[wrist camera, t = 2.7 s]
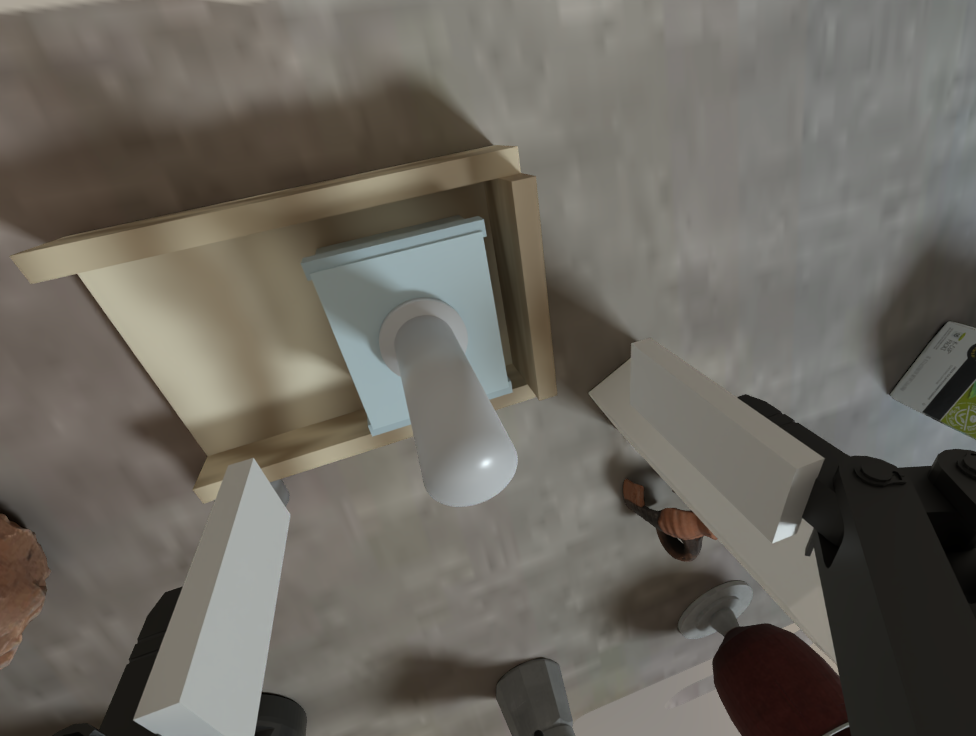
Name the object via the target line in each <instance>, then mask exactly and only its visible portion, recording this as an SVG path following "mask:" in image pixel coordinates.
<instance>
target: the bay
mask: <svg viewBox="0 0 976 736" xmlns="http://www.w3.org/2000/svg"><path fill="white" fill-rule="evenodd" d="M456 215H460V216H461V217H462V218H464V219H467V218H471V217H475V216H479V217H481V218H483V219H484V223H485V229H486V235H487V237H483V239H484V245H485V250H486V256H487V262H488V268H489V274H490V280H491V285H492V291H493V297H494V303H495V309H496V315H497V320H498V326H499V332H500V338H501V344H502V349H503V355H504V361H505V367H506V373H507V376H508V378H509V379H510V381H511V385H512V391H513V392H512V393H509V394H506V395H503V396H500V397H496V398H493V399H490V402H491V404H492V406H493V408H494V410H498V409H501V408H504V407H507V406H510V405H513V404H516V403H520V402H523V401H526V400H529V399H532V398H535V397H537V398H538V400H539V401H541V400H544V399H547V398H550V397H553V396H556V395H557V387H556V377H555V366H554V356H553V346H552V336H551V326H550V315H549V305H548V295H547V285H546V275H545V265H544V254H543V244H542V234H541V224H540V214H539V203H538V193H537V183H536V176H532V175H528V174H523V173H521V170H520V162H519V153H518V146H501V145H492V146H487V147H483V148H478V149H473V150H469V151H464V152H459V153H454V154H450V155H445V156H440V157H436V158H431V159H426V160H422V161H417V162H412V163H407V164H403V165H398V166H393V167H389V168H384V169H379V170H375V171H370V172H365V173H361V174H356V175H351V176H346V177H342V178H337V179H332V180H328V181H323V182H318V183H314V184H309V185H304V186H300V187H295V188H290V189H285V190H281V191H276V192H271V193H267V194H262V195H257V196H253V197H248V198H243V199H239V200H234V201H229V202H224V203H220V204H215V205H210V206H206V207H201V208H196V209H192V210H187V211H182V212H177V213H173V214H168V215H163V216H159V217H154V218H149V219H145V220H140V221H135V222H131V223H126V224H121V225H116V226H112V227H107V228H102V229H98V230H93V231H88V232H84V233H79V234H74V235H70V236H65V237H62V238H60V239H57V240H54V241H51V242H48V243H45V244H42V245H40V246H37V247H34V248H31V249H28V250H25V251H22V252H19V253H17V254H14V255H11V256H9V257H10V258H11V259H12V260H13V262H14V263H15V264H16V265H17V267H18V268H19V269H20V271H21V272H22V273H23V274H24V276H25V277H26V278H27V280H28V281H29V282H30V283H31V284H34V283H38V282H43V281H47V280H51V279H56V278H60V277H65V276H69V275H74V274H78V276H79V277H80V278H81V280H82V281H83V283H84V284H85V285H86V287H87V288H88V290H89V291H90V292H91V294H92V295H93V297H94V298H95V299H96V301H97V302H98V304H99V305H100V306H101V308H102V309H103V311H104V312H105V313H106V315H107V316H108V318H109V319H110V320H111V322H112V323H113V325H114V326H115V327H116V329H117V330H118V332H119V333H120V334H121V336H122V337H123V339H124V340H125V341H126V343H127V344H128V346H129V347H130V348H131V350H132V351H133V353H134V354H135V355H136V357H137V358H138V360H139V361H140V362H141V364H142V365H143V367H144V368H145V369H146V371H147V372H148V374H149V375H150V376H151V378H152V379H153V381H154V382H155V383H156V385H157V386H158V388H159V389H160V390H161V392H162V393H163V395H164V396H165V397H166V399H167V400H168V402H169V403H170V404H171V406H172V407H173V409H174V410H175V411H176V413H177V414H178V416H179V417H180V418H181V420H182V421H183V423H184V424H185V425H186V427H187V428H188V430H189V431H190V432H191V434H192V435H193V437H194V438H195V439H196V441H197V442H198V444H199V445H200V446H201V448H202V449H203V451H204V452H205V453H206V455H207V458H206V461H205V463H204V465H203V467H202V470H201V472H200V474H199V476H198V479H197V481H196V483H195V486H194V488H193V491H194V492H195V493H196V495H197V496H198V497H199V499H200V500H201V501H202V502H203V504H204V503H207V502H210V501H214V502H215V499H216V497H217V494H218V491H219V489H220V486H221V483H222V481H223V478H224V475H225V473H226V470H227V467H228V465H231V464H235V463H238V462H241V461H244V460H248V459H251V458H254V459H255V460H256V462H257V464H258V465H259V467H260V468H261V470H262V471H263V473H264V474H265V476H266V478H267V479H268V481H269V482H270V484H271V485H272V487H273V489H274V490H275V492H276V493H277V495H278V496H279V498H280V499H281V501H282V503H283V504H284V506H285V507H286V505H287V503H288V501H289V496H290V495H289V491H288V490H287V488H286V486H285V485H284V483H283V481H282V480H281V479H282V478H285V477H288V476H291V475H295V474H298V473H301V472H304V471H307V470H310V469H313V468H316V467H320V466H323V465H326V464H329V463H332V462H335V461H338V460H341V459H345V458H348V457H351V456H354V455H357V454H360V453H363V452H366V451H370V450H373V449H376V448H379V447H382V446H385V445H388V444H391V443H395V442H398V441H401V440H404V439H407V438H410V437H413V436H414V435H413V431H412V426H411V425H408V426H404V427H401V428H398V429H395V430H392V431H389V432H385V433H382V434H379V435H376V436H373V437H372V435H371V432H370V430H369V427H368V421H367V413H366V411H365V409H364V406H363V404H362V401H361V399H360V396H359V394H358V391H357V389H356V386H355V384H354V382H353V379H352V377H351V374H350V372H349V369H348V367H347V364H346V362H345V360H344V357H343V355H342V352H341V350H340V347H339V345H338V342H337V340H336V338H335V335H334V333H333V330H332V328H331V325H330V323H329V320H328V318H327V315H326V313H325V311H324V308H323V306H322V303H321V301H320V298H319V296H318V293H317V291H316V289H315V286H314V284H313V281H312V280H310V281H308V280H307V278H306V275H305V273H304V271H303V268H302V266H301V261H302V259H303V258H305V257H309V256H313V255H315V254H316V250H317V248H321V247H325V246H329V245H334V244H338V243H342V242H346V241H350V240H355V239H359V238H363V237H367V236H371V235H376V234H380V233H384V232H388V231H392V230H397V229H401V228H405V227H409V226H414V225H418V224H422V223H426V222H430V221H435V220H439V219H443V218H447V217H451V216H456Z"/></svg>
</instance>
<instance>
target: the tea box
mask: <svg viewBox="0 0 976 736" xmlns="http://www.w3.org/2000/svg"><path fill="white" fill-rule="evenodd" d="M890 396H891V397H892V398H893V399H894V400H896V401H898V402H900V403H902V404H904V405H906V406H908V407H910V408H912V409H914V410H916V411H918V412H920V413H922V414H924V415H926V416H929V417H931V418H933V419H934V420H936V421H938V422H941V423H942V424H944V425H946V426H948V427H950V428H952V429H954V430H957V431H959V432H961V433H963V434H965V435H967V436H969V437H971V438H973V439H975V440H976V328H974V327H970V326H967V325H963V324H959V323H956V322H952V321H948V322H947V323H946V324H945V325H944V326H943V328H942V329H941V330H940V331H939V332H938V333H937V335H936V336H935V337H934V338H933V339H932V341H931V342H930V343H929V344H928V346H927V347H926V348H925V349H924V351H923V352H922V353H921V355H920V356H919V357H918V358H917V360H916V361H915V362H914V364H913V365H912V366H911V367H910V369H909V370H908V371H907V373H906V374H905V375H904V377H903V378H902V379H901V380H900V382H899V383H898V384H897V386H896V387H895V389H894V390H893V391H892V393H891V394H890Z"/></svg>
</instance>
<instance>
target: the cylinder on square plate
mask: <svg viewBox="0 0 976 736" xmlns="http://www.w3.org/2000/svg"><path fill="white" fill-rule="evenodd" d="M483 237H487V235H486V229H485V223H484V219H483V218H481V217H479V216H475V217H471V218H467V219H464V218H462V217H461V216H460V215H456V216H451V217H447V218H443V219H439V220H435V221H430V222H426V223H422V224H418V225H414V226H409V227H405V228H401V229H397V230H392V231H388V232H384V233H380V234H376V235H371V236H367V237H363V238H359V239H355V240H350V241H346V242H342V243H338V244H334V245H329V246H325V247H321V248H317V250H316V254H315V255H313V256H309V257H305V258H303V259H302V261H301V266H302V268H303V271H304V273H305V275H306V278H307V280H308V281H310V280H312V281H313V284H314V286H315V289H316V291H317V293H318V296H319V298H320V301H321V303H322V306H323V308H324V311H325V313H326V315H327V318H328V320H329V323H330V325H331V328H332V330H333V333H334V335H335V338H336V340H337V342H338V345H339V347H340V350H341V352H342V355H343V357H344V360H345V362H346V364H347V367H348V369H349V372H350V374H351V377H352V379H353V382H354V384H355V386H356V389H357V391H358V394H359V396H360V399H361V401H362V404H363V406H364V409H365V411H366V413H367V421H368V427H369V430H370V432H371V435H372V437H373V436H376V435H379V434H382V433H385V432H389V431H392V430H395V429H398V428H401V427H404V426H408V425H411V426H412V431H413V435H414V440H415V445H416V449H417V454H418V459H419V463H420V468H421V472H422V477H423V482H424V486H425V488H426V490H427V492H428V493H429V495H430V496H431V497H432V498H433V499H435V500H436V501H438V502H440V503H442V504H445V505H448V506H455V507H465V506H471V505H476V504H479V503H482V502H484V501H487V500H488V499H490V498H492V497H494V496H495V495H497V494H498V493H499V492H501V491H502V490H503V489H504V488H505V487H506V486H507V485H508V484H509V482H510V481H511V479H512V478H513V476H514V474H515V471H516V468H517V463H518V457H517V452H516V449H515V447H514V445H513V443H512V442H511V440H510V438H509V436H508V434H507V432H506V430H505V428H504V427H503V425H502V423H501V421H500V419H499V417H498V415H497V413H496V412H495V410H494V408H493V406H492V404H491V402H490V399H493V398H496V397H500V396H503V395H506V394H509V393H512V392H513V391H512V385H511V381H510V379H509V378H508V376H507V373H506V367H505V361H504V355H503V349H502V344H501V338H500V332H499V326H498V320H497V315H496V309H495V303H494V297H493V291H492V285H491V280H490V274H489V268H488V262H487V256H486V250H485V245H484V239H483Z"/></svg>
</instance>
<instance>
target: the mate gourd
mask: <svg viewBox="0 0 976 736" xmlns="http://www.w3.org/2000/svg"><path fill="white" fill-rule="evenodd" d="M752 596H753V590H752V589H751V587H750V586H749V585H748V584H747V583H746V582H744V581H731V582H727V583H724V584H721V585H719V586H717V587H715V588H713V589H711V590H709V591H707V592H706V593H704V594H703V595H701V596H700V597H699V598H697V599H696V600H695V601H694V602H693V603H692V604H691V605H690V606H689V607H688V608H687V609H686V610H685V611H684V613H683V614H682V616H681V618H680V620H679V623H678V629H679V631H680V633H681V634H682V635H683V636H684V637H685V638H688V639H696V638H701V637H705V636H708V635H710V634H713V633H715V632H717V631H718V632H719V633H720V634H722V635H723V636H724V640H723V642H722V644H721V645H720V647H719V649H718V651H717V653H716V654H715V656H714V658H713V675H714V684H715V687H716V689H717V692H718V694H719V697H720V699H721V701H722V703H723V705H724V706H725V709H726V710H727V713H728V714H729V716H730V718H731V720H732V722H733V723H734V725H735V726H736V728H737V729H738V731H739V732H740V734H741V735H742V736H851V732H850V727H849V722H848V717H847V712H846V707H845V702H844V697H843V692H842V687H841V682H840V677H839V676H838V675H837V673H836V672H834V670H833V669H832V668H831V667H830V666H829V665H828V663H826V661H825V660H824V659H823V658H822V657H820V655H819V654H817V653H816V652H815V651H814V650H813V649H812V648H811V647H810V646H809V645H807V644H806V643H805V642H804V641H803V640H801V639H800V638H799V637H797V636H796V635H795V634H793V633H791V632H789V631H787V630H784V629H782V628H779V627H776V626H774V625H771V624H767V623H765V624H758V625H751V626H745V627H740V626H739V624H738V622H737V619H736V618H737V617H738V616H739V615H740V614H741V613H742V612H743V611H744V610H745V609H746V608H747V606H748V605H749V603H750V601H751V599H752Z"/></svg>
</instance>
